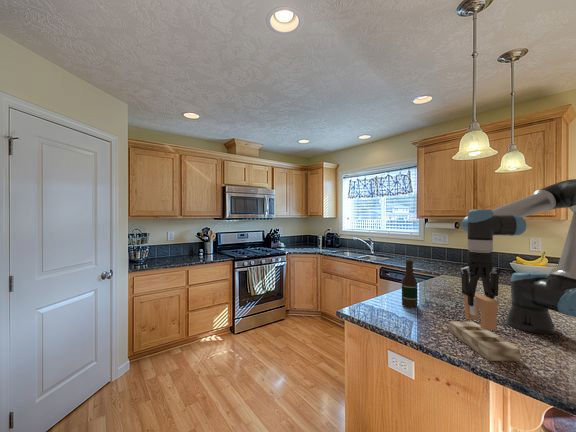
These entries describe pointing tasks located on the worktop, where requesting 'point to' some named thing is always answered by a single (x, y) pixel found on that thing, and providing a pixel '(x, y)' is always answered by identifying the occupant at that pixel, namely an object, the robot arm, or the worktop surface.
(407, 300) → the beer bottle
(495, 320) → the orange-brown block
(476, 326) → the beige flat slotted piece
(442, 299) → the worktop surface
